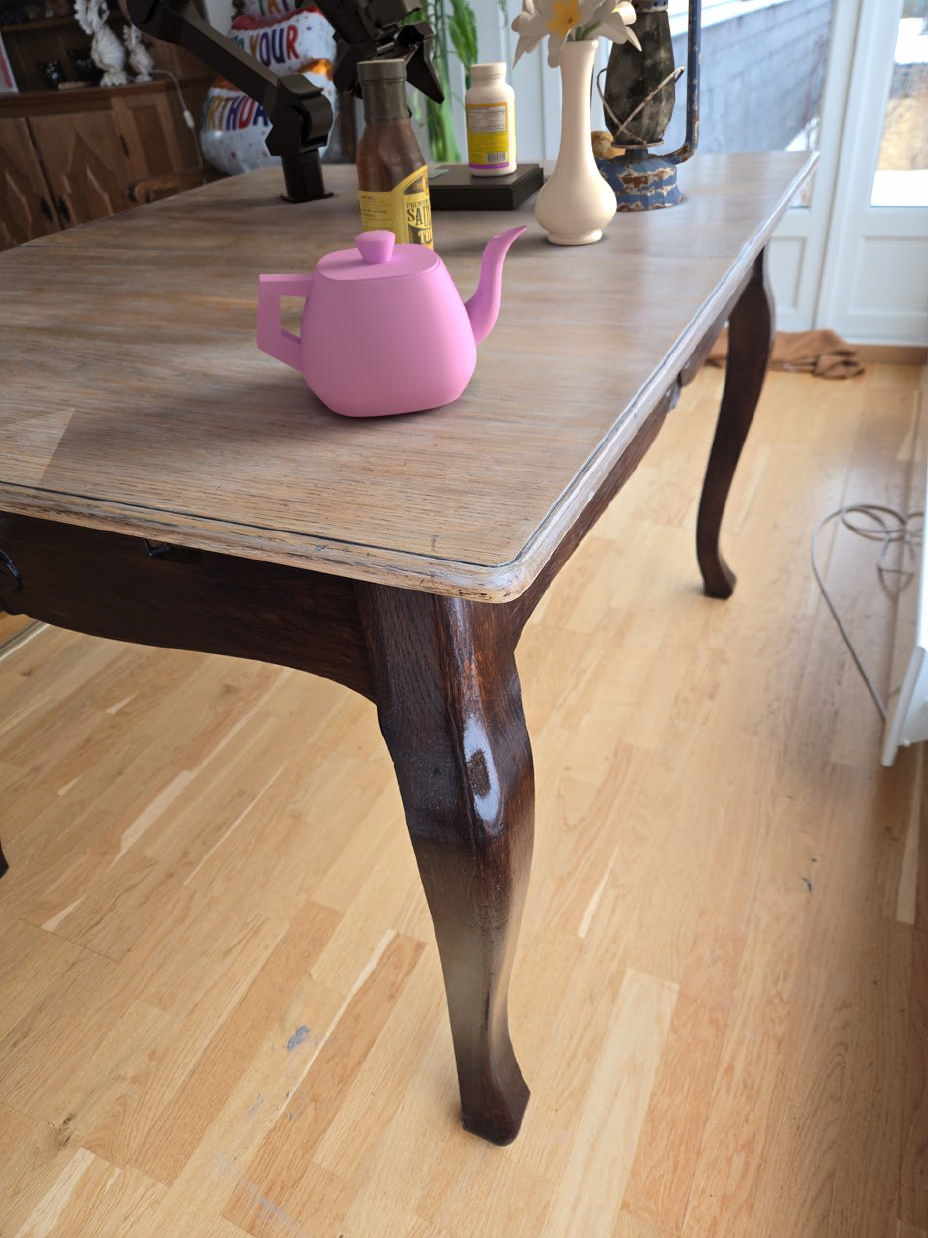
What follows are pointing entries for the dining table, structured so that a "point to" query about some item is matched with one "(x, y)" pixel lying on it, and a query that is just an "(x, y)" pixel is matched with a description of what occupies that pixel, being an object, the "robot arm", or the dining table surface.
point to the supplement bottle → (490, 121)
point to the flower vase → (574, 110)
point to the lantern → (648, 108)
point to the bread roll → (604, 145)
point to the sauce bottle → (391, 158)
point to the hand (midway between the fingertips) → (426, 109)
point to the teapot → (383, 324)
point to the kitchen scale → (482, 188)
